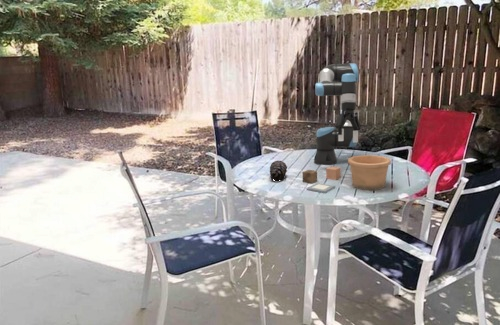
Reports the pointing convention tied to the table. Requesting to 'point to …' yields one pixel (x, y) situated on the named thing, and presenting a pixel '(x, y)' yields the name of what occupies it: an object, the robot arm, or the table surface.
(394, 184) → the table surface
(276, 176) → the pine cone
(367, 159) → the pottery
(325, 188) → the pad
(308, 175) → the walnut cube
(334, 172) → the terracotta cube
